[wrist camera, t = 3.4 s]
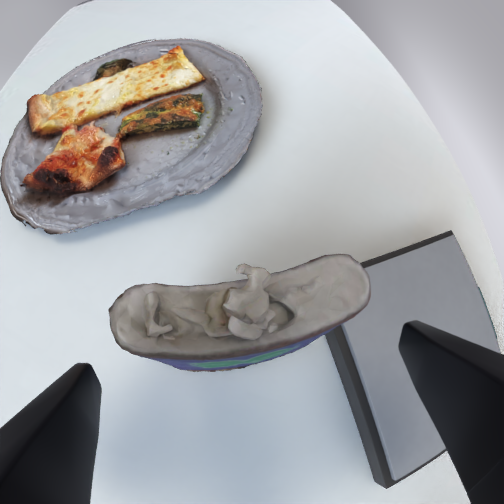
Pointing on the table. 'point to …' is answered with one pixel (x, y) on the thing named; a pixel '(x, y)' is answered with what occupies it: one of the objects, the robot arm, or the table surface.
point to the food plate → (130, 133)
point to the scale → (388, 356)
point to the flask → (240, 314)
